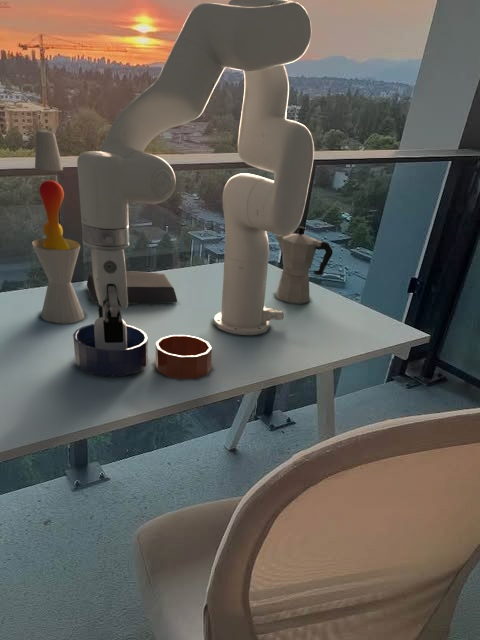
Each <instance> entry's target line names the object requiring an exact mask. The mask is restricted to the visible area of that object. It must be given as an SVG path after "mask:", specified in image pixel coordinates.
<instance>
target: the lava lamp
mask: <svg viewBox="0 0 480 640" xmlns="http://www.w3.org/2000/svg"><path fill="white" fill-rule="evenodd" d="M34 168H35V169H37V170H41V171H47V172H61V171H64V168H63V163H62V159H61V155H60V151H59V146H58V142H57V137H56V135H55V132H54V131H51V130H46V129H41V130H40V129H39V130H37V131H36V137H35V160H34ZM39 195H40V197H41V200H42V203H43V207H44V209H45V212H46V218H47V222H46V223H44V225H43V233H44V235H45V237H42V238H37V239H34V240H32V242H31V245H32V247H33V250H34V252H35V254H36V256H37V258H38V260H39V263H40V265H41V267H42V270H43V271H44V273H45V275H46V277H47V280H48V282H47V287H46V292H45V297H44V300H43V306H42V310H41V314H40V315H41V318H42V319H43V320H44V321H47V322H50V323H54V324H72V323H78V322H81V321H82V320H83V319H84V318H85V317H86V316H85V313H84V311H83V308H82V305H81V304H80V301H79V299H78V296H77V293H76V291H75V288H74V286H73V284H72V278H73V275H74V270H75V267H76V264H77V260H78V256H79V253H80V250H81V244H80V243H79V242H77V241H75V240H72V239H68V238H64V237H63V233H64V229H63V226H62V225H61V224H60V223H59V214H60V209H61V206H62V203H63V200H64V198H65V191H64V189H63V187H62V185H61V184H60V183H59V182H57V181H55V180H53V179H52V180H51V179H48V180H44V181H43V182H42V183H41V184H40V186H39Z"/></svg>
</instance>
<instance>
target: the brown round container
mask: <svg viewBox="0 0 480 640" xmlns="http://www.w3.org/2000/svg"><path fill="white" fill-rule="evenodd" d="M154 346H155V367H156V370H157V372H159V373H161V374H163V375H164V376H166V377H169V378H174V379H179V380H193V379H195V380H196V379H198V378H202V377H205V376H207V375H208V374H209V373H210V372H211V370H212V351H213V350H212V349H213V348H212V346H211V344H210V342H208V341H207V340H204V339H203V338H200V337H199V336H193V335H187V334H172V335H168V336H167V335H166V336H164V337H163V336H162V337H160V338H159V339H158V340H157V341H156V342H155V345H154Z"/></svg>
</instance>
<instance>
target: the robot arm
mask: <svg viewBox="0 0 480 640" xmlns="http://www.w3.org/2000/svg"><path fill="white" fill-rule="evenodd" d="M312 27H313V26H312V21H311V18H310V14H309V13H308V11H307V10H306V8H305V7H304V6H303V5H302V4H301V3H299V2H296V1H294V0H229V2H228V3H227V4H224V3H216V2H202V3H200V4H197V5H196V6H195V7H193V8H192V9H191V10H190V12H189V13H188V15H187V17H186V19H185V21H184V23H183V25H182V27H181V29H180V32H179V34H178V35H177V37H176V39H175V42H174V43H173V47H171V50H170V52H169V54H168V56H167V58H166V60H165V62H164V64H163V66H162V68H161V70H160V73H159V75H158V77H157V78H156V80H155V81H154V82H153V83H152V84H151V85H150V86H149V87H147V88H146V89H145V90H143V91H142V92H141V93H140V94H138V95H137V96H136V97H135V98H134V99H133V100H132V101H130V103H128V104H127V105H126V106H125V107H124V108H123V109H122V110H121V111H120V113H118V114H117V116H116V117H115V119H114V120H113V122H112V124H111V125H110V127H109V130H108V131H107V134H106V136H105V138H104V140H103V142H102V144H101V147H100V149H99V151H97V150H88V151H83V152H81V153H80V154H79V155H78V157H77V161H76V166H77V168H76V169H77V179H78V180H77V181H78V193H79V206H80V208H79V209H80V219H81V220H80V221H81V236H82V244H83V245H84V246H86V247H89V248H90V254H91V255H90V258H91V269H92V273H93V279H94V285H95V290H96V295H97V298H98V303H97V306H98V307H97V309H98V318H100V317H103V309H102V307H104V316H105V320H103V325H104V340H105V342H106V343H122V342H123V321H122V320H123V318H122V310H121V309H122V308H121V307H124V308H127V307H128V306H129V303H128V296H127V281H126V271H127V267H126V257H125V250H124V249H127V248H129V247H130V226H129V225H130V224H129V223H130V221H129V220H130V219H129V203H135V204H136V203H138V204H146V205H157V204H161V203H164V202H165V201H167V200H168V199H170V197H171V196H172V194H174V191H175V189H176V183H177V182H176V180H177V179H176V174H175V172H174V169H173V168H172V166H171V165H170V164H169V163H168V162H167V161H166V160H164V158H162V157H159V156H157V155H155V154H152V153H150V152H145V150H146V148H147V146H148V145H149V144H150V143H151V141H152V140H154V139H155V138H156V137H157V136H159V135H160V134H162V133H163V132H165V131H167V130H170V129H172V128H175V127H178V126H182V125H185V124H187V123H190V122H193V121H194V120H195V121H196V119H198V118H199V117H201V116H202V114H203V113H204V111H205V109H206V106H207V105H208V103H209V101H210V98H211V96H212V94H213V92H214V89H215V88H216V86H217V84H218V83H219V81H220V78H221V77H222V74H223V72H224V70H226V69H231V70H236V71H243V77H244V78H243V79H244V90H243V99H242V105H241V106H242V107H241V115H240V121H239V128H238V137H237V153H238V156H239V158H240V159H241V161H243V162H244V163H245V164H246V165H248V166H251V167H253V168H256V169H259V170H263V171H266V172H270V173H273V174H274V175H273V176H274V177H273V179H270V178H267V177H263V176H261V175H256V174H252V173H243V172H242V173H237V174H234V175H233V176H231V177H230V178H228V180H227V181H226V183H225V185H224V187H223V191H222V198H221V199H222V212H223V219H224V230H225V231H224V233H225V234H224V236H225V237H224V254H223V255H224V257H223V273H222V274H223V275H222V290H221V291H222V292H221V293H222V294H221V311H220V312H218V313H217V314H215V315H214V317H213V324H214V325H215V327H217V328H218V329H219V330H220V331H223V332H226V333H229V334H233V335H238V336H239V335H240V336H256V335H261V334H264V333H266V332H267V331H268V330H269V328H270V321H271V320H279V321H280V320H283V319H284V317H285V312H284V311H283V310H276V309H275V308H274V307H273V308H272V307H271V308H270V307H269V308H267V307H266V306H265V299H266V291H267V290H266V288H267V279H268V268H269V260H270V241H269V236H268V233H269V234H273V235H274V236H275V235H279V236H288V235H290V234H294V233H295V232H296V231H297V230H298V227H300V224H301V222H302V219H303V216H304V213H305V207H306V203H307V197H308V193H309V187H310V183H311V177H312V172H313V167H314V160H315V144H314V138H313V135H312V133H311V132H310V130H309V128H307V127H306V125H304V124H303V123H300V122H298V121H296V120H291V119H288V118H287V113H288V112H287V111H288V104H289V95H290V84H289V83H290V82H289V76H288V72H287V69H286V66H285V65H288V64H291V63H294V62H296V61H298V60H300V59H301V58H302V57H303V56H304V55H305V53H306V52H307V50H308V48H309V46H310V43H311V40H312V34H313V33H312V31H313V29H312ZM106 302H109V303H106ZM107 309H110V310H108V311H107Z"/></svg>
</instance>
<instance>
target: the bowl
mask: <svg viewBox="0 0 480 640" xmlns="http://www.w3.org/2000/svg"><path fill="white" fill-rule="evenodd" d="M126 328H127V349H121V350H106V349H97V348H95V334H94V323H91V324H87V325H83V326H81V327H80V328H78V329H75V331H74V332H73V334H72V339H73V350H74V360H75V361H74V362H75V365H76V366H77V367H78V368H79V369H81V370H83V371H85V372H86V373H90V374H92V375H96V376H101V377H111V378H113V377H115V378H116V377H117V378H118V377H124V376H125V377H126V376H130V375H133V374H136V373H139V372H141V371H142V370H144V369H145V368H146V367H147V365H148V363H149V343H148V342H149V339H148V335H147V333H146V332H144V331H143V330H142V329H140V328H138V327H135V326H133V325H128V324H126Z"/></svg>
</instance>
